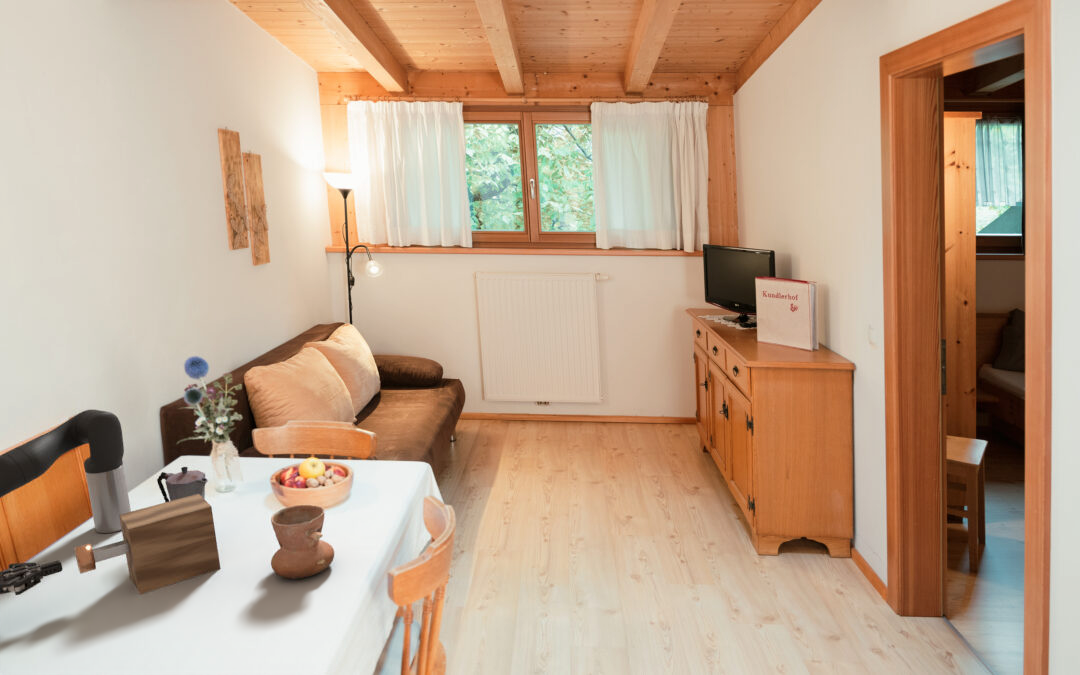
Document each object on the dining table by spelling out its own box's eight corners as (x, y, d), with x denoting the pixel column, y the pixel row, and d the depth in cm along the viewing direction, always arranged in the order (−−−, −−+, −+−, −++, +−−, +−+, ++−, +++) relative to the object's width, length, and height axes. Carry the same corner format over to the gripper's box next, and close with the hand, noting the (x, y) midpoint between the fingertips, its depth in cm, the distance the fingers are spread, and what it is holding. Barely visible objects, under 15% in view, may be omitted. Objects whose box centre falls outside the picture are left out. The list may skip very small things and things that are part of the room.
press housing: (129, 577, 194) (119, 514, 190) (207, 553, 204) (198, 493, 201) (139, 594, 185) (128, 529, 182) (220, 568, 196) (211, 506, 192)
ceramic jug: (350, 568, 192) (344, 511, 189) (296, 592, 182) (288, 532, 179) (309, 549, 204) (303, 495, 202) (256, 570, 194) (248, 514, 191)
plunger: (77, 568, 184) (73, 543, 183) (176, 539, 197) (173, 516, 196) (82, 577, 180) (77, 552, 178) (183, 547, 192) (179, 523, 191)
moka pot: (205, 548, 207) (194, 474, 203) (152, 545, 210) (140, 473, 206) (226, 531, 216) (216, 460, 213) (175, 529, 220) (164, 459, 216)
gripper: (-35, 588, 163) (63, 559, 174) (-39, 565, 174) (54, 540, 184) (-28, 621, 165) (69, 591, 175) (-32, 597, 175) (60, 570, 185)
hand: (61, 565), depth 179 cm, fingers closed
